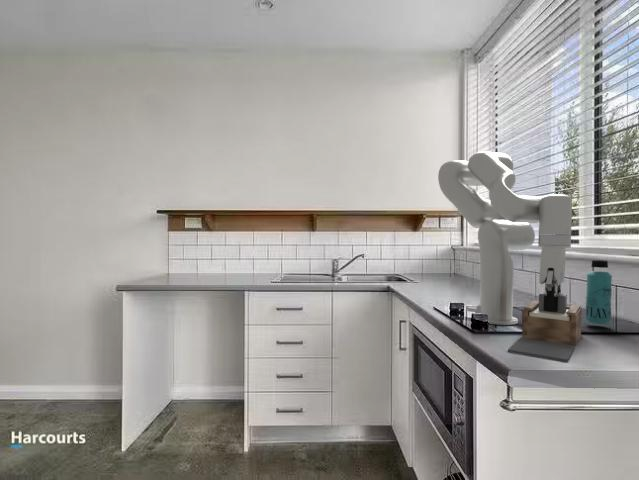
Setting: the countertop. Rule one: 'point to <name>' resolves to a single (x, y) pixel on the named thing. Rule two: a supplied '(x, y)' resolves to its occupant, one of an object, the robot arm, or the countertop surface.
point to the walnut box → (552, 326)
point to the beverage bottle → (598, 294)
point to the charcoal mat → (542, 349)
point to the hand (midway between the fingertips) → (552, 308)
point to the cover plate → (558, 315)
